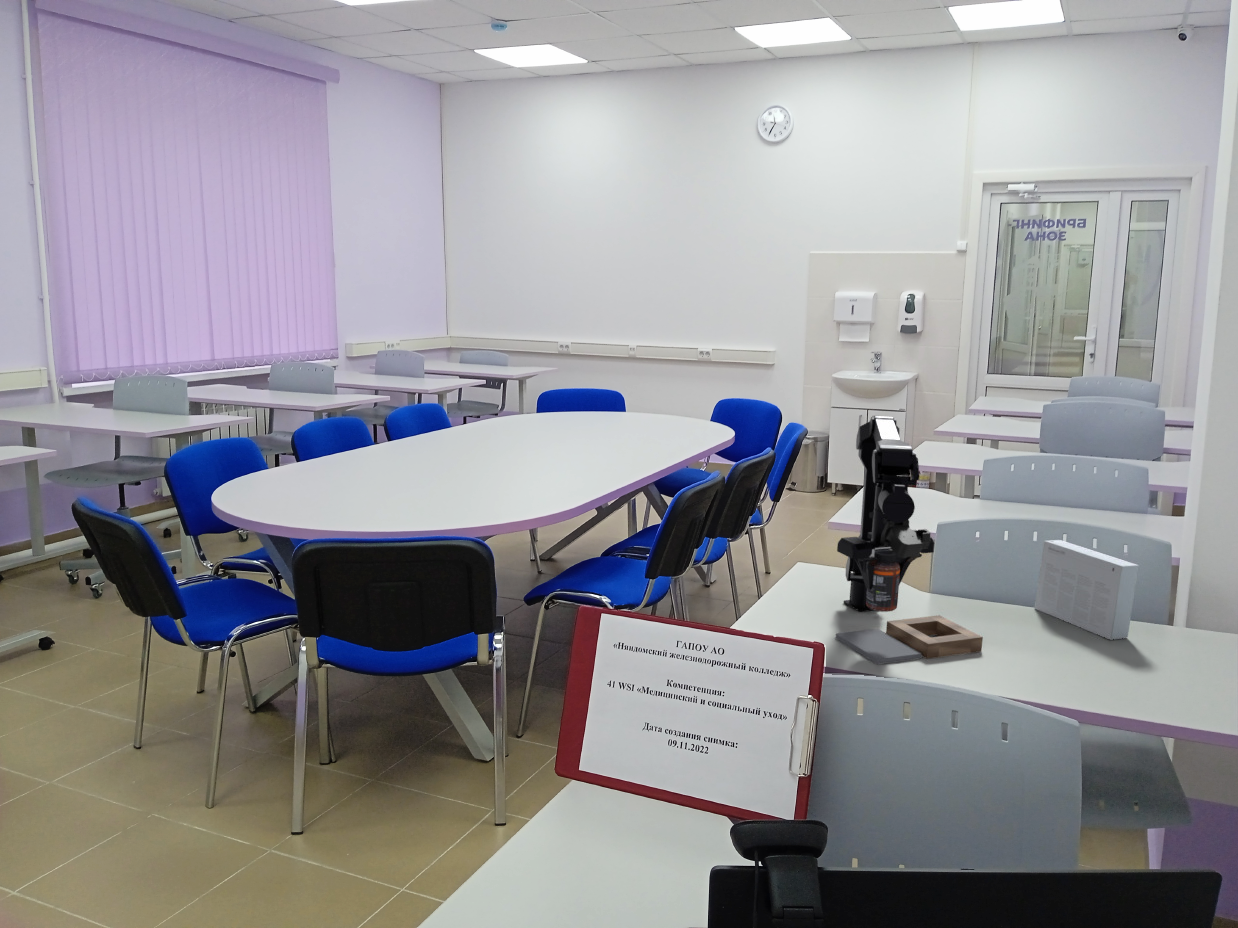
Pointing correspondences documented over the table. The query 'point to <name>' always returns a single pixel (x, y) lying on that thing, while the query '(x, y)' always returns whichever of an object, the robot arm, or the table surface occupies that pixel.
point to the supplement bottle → (884, 582)
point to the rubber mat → (878, 646)
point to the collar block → (947, 644)
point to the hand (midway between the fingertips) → (882, 587)
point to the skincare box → (1086, 588)
